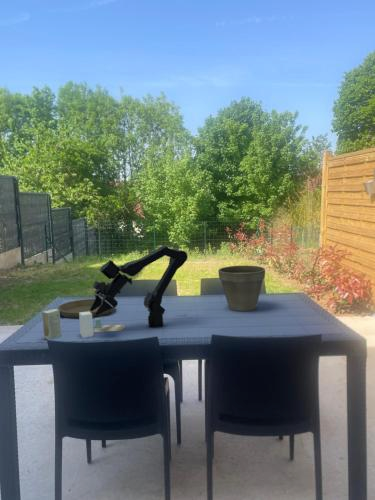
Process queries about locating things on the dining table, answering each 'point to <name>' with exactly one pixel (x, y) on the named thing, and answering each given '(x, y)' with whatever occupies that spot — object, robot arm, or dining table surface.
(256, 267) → the plant pot
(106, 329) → the board
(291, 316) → the dining table surface
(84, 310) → the plant saucer
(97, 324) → the pale teal block
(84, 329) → the tall white cuboid
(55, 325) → the skincare box
